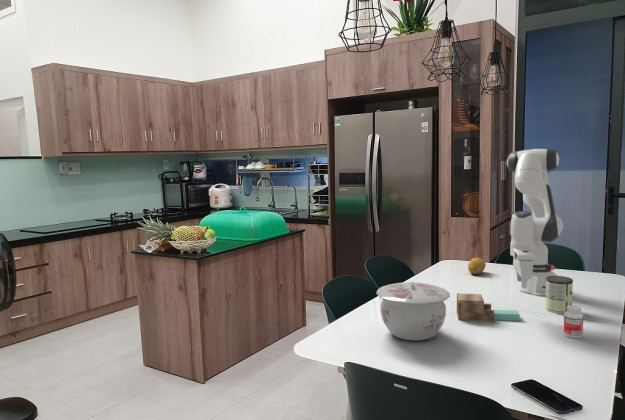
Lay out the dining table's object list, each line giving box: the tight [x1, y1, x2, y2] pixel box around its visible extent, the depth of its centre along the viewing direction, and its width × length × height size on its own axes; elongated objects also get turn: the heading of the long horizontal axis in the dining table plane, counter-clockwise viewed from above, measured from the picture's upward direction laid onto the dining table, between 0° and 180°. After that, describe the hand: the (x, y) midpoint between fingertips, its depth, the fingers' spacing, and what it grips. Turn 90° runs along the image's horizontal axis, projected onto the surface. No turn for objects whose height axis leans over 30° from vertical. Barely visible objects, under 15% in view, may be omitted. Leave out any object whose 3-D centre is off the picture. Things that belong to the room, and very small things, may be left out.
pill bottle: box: [563, 304, 584, 339], centre depth 168 cm, size 6×6×11 cm
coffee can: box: [545, 275, 574, 315], centre depth 196 cm, size 10×10×14 cm
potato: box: [467, 257, 486, 275], centre depth 263 cm, size 10×13×9 cm
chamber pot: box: [376, 281, 451, 342], centre depth 173 cm, size 28×28×21 cm
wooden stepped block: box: [456, 292, 495, 322], centre depth 191 cm, size 14×10×8 cm
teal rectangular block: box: [487, 309, 521, 322], centre depth 189 cm, size 12×5×3 cm, turn 78°
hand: (521, 284), depth 186 cm, fingers open, 8 cm apart
